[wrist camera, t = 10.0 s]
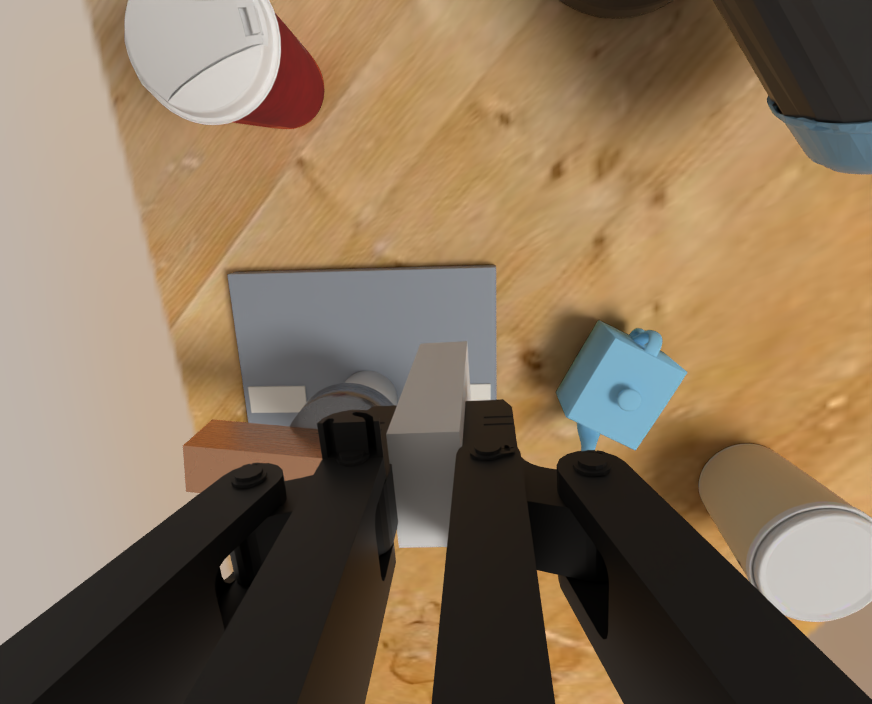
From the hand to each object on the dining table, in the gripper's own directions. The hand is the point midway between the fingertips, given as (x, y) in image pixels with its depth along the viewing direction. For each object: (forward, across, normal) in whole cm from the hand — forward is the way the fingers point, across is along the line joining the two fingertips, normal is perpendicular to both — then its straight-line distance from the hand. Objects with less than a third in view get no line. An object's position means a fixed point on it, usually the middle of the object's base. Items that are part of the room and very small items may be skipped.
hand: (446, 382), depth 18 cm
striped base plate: (+29, -9, -11) cm, 32 cm away
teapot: (+29, +11, -11) cm, 33 cm away
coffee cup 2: (+29, +23, -22) cm, 43 cm away
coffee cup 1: (+29, -13, +14) cm, 35 cm away
